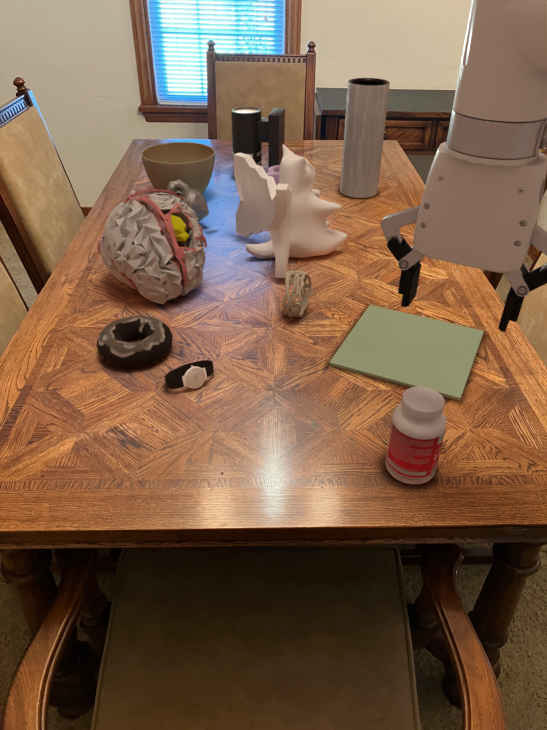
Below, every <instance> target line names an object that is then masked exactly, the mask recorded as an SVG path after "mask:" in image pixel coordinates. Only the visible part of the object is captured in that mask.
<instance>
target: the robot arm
mask: <svg viewBox="0 0 547 730" xmlns="http://www.w3.org/2000/svg"><path fill="white" fill-rule="evenodd" d="M461 52H462V53H461V59H460V63H459V70H458V75H457V81H456V85H455V86H456V87H455V92H454V98H453V103H452V110H451V115H450V121H449V124H448V125H449V126H448V131H447V136H446V141H443V142H441V143H440V144H439V146H438V148H437V150H436V152H435V154H434V156H433V157H434V158H433V160H432V162H431V166H430V168H429V172H428V175H427V178H426V182H425V186H424V189H423V193H422V197H421V201H420V205H417V206H413V207H410V208H406V209H403V210H400V211H396V212H394V213H390V214H386V215H385V216H384V217H383V218H382V220H381V221H380V228H381V231H382V233H383V235H384V239H385V240H386V242H387V243H386V247H387V249H388V250H389V252H390V253H391V255H392V256H393V257H394V259H395V260H396V261H397V266H398V268H399V269H400V277H399V283H398V290H397V294H398V295H402V296H401V301H400V307H403V308H408V307H409V306H410V305H411V303H412V302H413V301H414V299H415V298H416V296H417V293H418V287H419V280H420V275H421V270H422V263H421V260H422V259H424V258H427V259H428V258H429V259H432V260H436V261H440V262H444V263H445V262H446V263H450V264H454V265H459V266H464V267H469V268H473V269H478V270H483V271H488V272H492V273H498V274H499V273H500V274H504V276H505V277H506V279H507V281H508V282H509V284H510V287H509V290H508V293H507V296H506V298H505V302H504V306H503V309H502V313H501V317H500V320H499V324H498V328H497V329H498V330H499V331H500V332H503V333H506V331H507V329H508V327H509V323H510V322H513V323H518V319H519V316H520V314H521V309H522V306H523V303H524V300H525V297H526V296H528V295H529V293H530V292H532V291H534V290H536V289H538V288H541V287H542V286H543V287H544V286H545V285H546V284H547V262H545V263H544V264H542V265H540V266H538V267H537V268H535V269H533V270H530V269H529V267H528V265H527V263H526V262H525V260H526V257H527V256H528V253H529V252H530V249H531V246H533V247H535V248H536V249H537V250H538V251H539V252H541V253H542V254H544V256H546V257H547V231H546V230H545V229H543V228H542V227H541V226H540V225H538V221H539V216H540V211H541V207H542V202H543V198H544V192H545V187H546V182H547V181H546V180H547V155H546V154H545V153H543V152H540V151H541V150H545V147H547V0H471V3H470V7H469V13H468V19H467V25H466V31H465V37H464V42H463V48H462V51H461ZM413 224H415V227H414V232H413V240H412V246H410V244H409V243H408V241H407V240H406V239H405V237H404V236H403V235H402V234H401V228H402V227H405V226H408V225H413Z"/></svg>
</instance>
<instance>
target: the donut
mask: <svg viewBox="0 0 547 730" xmlns="http://www.w3.org/2000/svg"><path fill="white" fill-rule="evenodd" d="M173 338H174V336H173V333H172V331H171V328H170V326H169V325H167V324H166V323H165V322H164V321H163V320H161V319H159V318H156V317H153V316H148V315H130V316H126V317H122V318H118V319H115V320H113V321H112V322H110V323H108V324H107V325H106V326H105V327H104V328H103V329H101V331H100V332H99V333H98V337H97V341H96V348H97V351H98V354H99V355H100V356H101V358H102V360H104V361H105V362H107V363H108V364H111V365H112V366H115V367H120V368H127V369H134V368H142V367H146V366H149V365H152V364H154V363H157V362H159V361H160V360H161V359H162V358H164V357H165V356H166V355H168V353H169V352H170V350H171V349H172V346H173V340H174V339H173Z"/></svg>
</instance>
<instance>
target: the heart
mask: <svg viewBox="0 0 547 730" xmlns="http://www.w3.org/2000/svg"><path fill="white" fill-rule="evenodd" d="M167 191H173V192H174V193H176V194H177V195H179V196H180V197H182V198H183V199H185V200H186V201H185V200H183V199H181V198H180V199H181V200H182V201H183V202H184V203H186V204H187V205H188V206H189V207H190V208H191V209H192V210H193V211H194V212H195V213H196V216H197V217H198V223H199V222H201V221H202V220H203V219H205V218H206V217H208V216H209V214H210V211H209V207H208V203H207V200H206V199H205V197H204V195H203V194H201V193H200V192H199V191H197V190H196V189H190V187H189V186H188V185H187V184H185V183H184V182H182V181H181V180H176V181H171V182H170V183H169V184H168V186H167ZM167 193H168V192H167ZM171 194H172V193H171ZM173 195H174V194H173ZM174 196H176V195H174ZM176 197H178V196H176ZM178 198H179V197H178ZM187 201H188V202H187ZM189 202H190V203H189Z"/></svg>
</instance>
